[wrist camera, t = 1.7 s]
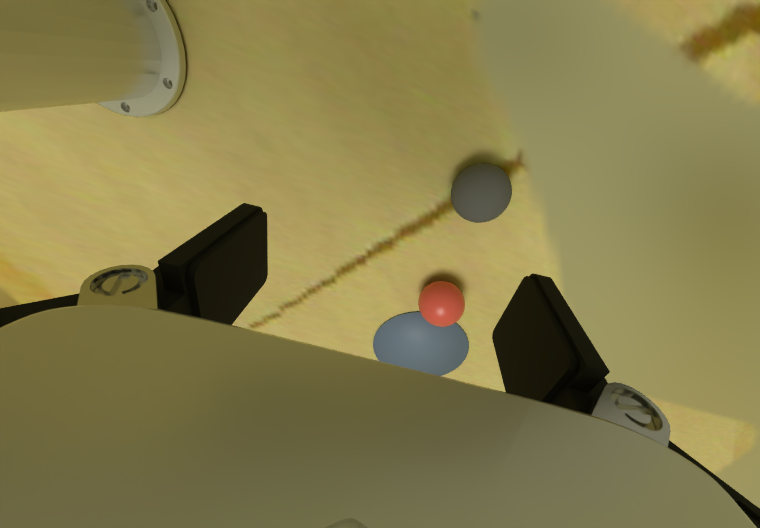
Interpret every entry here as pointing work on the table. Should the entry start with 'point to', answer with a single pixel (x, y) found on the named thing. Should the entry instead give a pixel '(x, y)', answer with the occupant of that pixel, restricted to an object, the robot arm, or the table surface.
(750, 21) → the table surface
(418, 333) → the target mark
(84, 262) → the table surface
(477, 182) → the gray ball
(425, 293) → the object ball
